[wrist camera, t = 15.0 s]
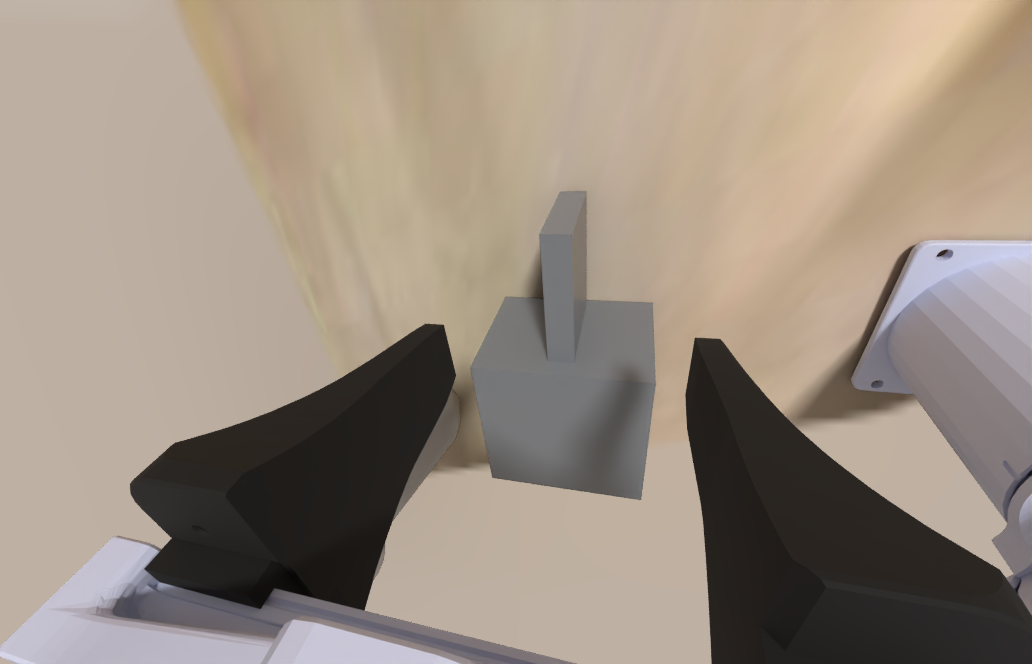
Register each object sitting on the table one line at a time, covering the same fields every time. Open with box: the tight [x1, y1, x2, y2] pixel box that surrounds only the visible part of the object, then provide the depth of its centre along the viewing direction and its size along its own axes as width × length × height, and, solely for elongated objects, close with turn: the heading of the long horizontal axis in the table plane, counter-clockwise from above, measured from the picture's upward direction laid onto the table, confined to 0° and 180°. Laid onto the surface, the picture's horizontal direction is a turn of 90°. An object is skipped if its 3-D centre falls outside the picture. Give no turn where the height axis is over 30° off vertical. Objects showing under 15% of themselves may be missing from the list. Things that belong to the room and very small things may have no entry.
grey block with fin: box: [470, 191, 656, 500], centre depth 21 cm, size 14×8×6 cm, turn 5°
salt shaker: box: [373, 388, 460, 580], centre depth 25 cm, size 6×6×13 cm
